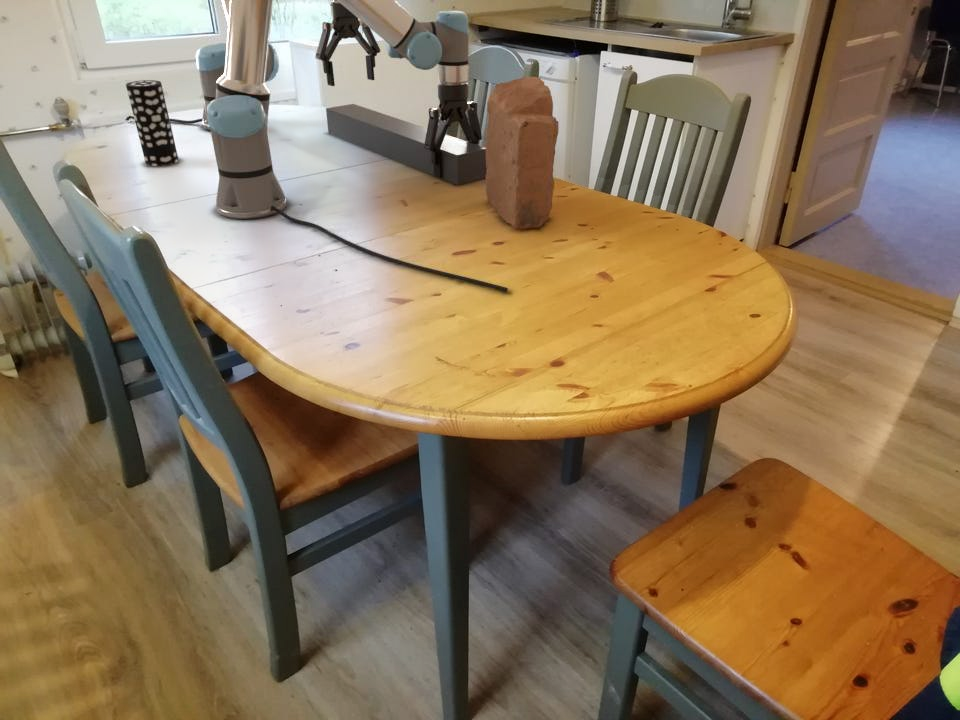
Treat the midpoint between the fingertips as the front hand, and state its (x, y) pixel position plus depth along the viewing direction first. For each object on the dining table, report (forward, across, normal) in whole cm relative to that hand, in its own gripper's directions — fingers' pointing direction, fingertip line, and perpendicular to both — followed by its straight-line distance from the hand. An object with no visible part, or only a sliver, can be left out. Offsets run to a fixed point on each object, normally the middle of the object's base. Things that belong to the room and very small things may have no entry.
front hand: (454, 172), depth 180 cm
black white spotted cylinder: (-10, +55, -58) cm, 80 cm away
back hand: (-15, 0, -48) cm, 50 cm away
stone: (0, +6, +31) cm, 32 cm away
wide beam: (0, 0, -24) cm, 24 cm away
